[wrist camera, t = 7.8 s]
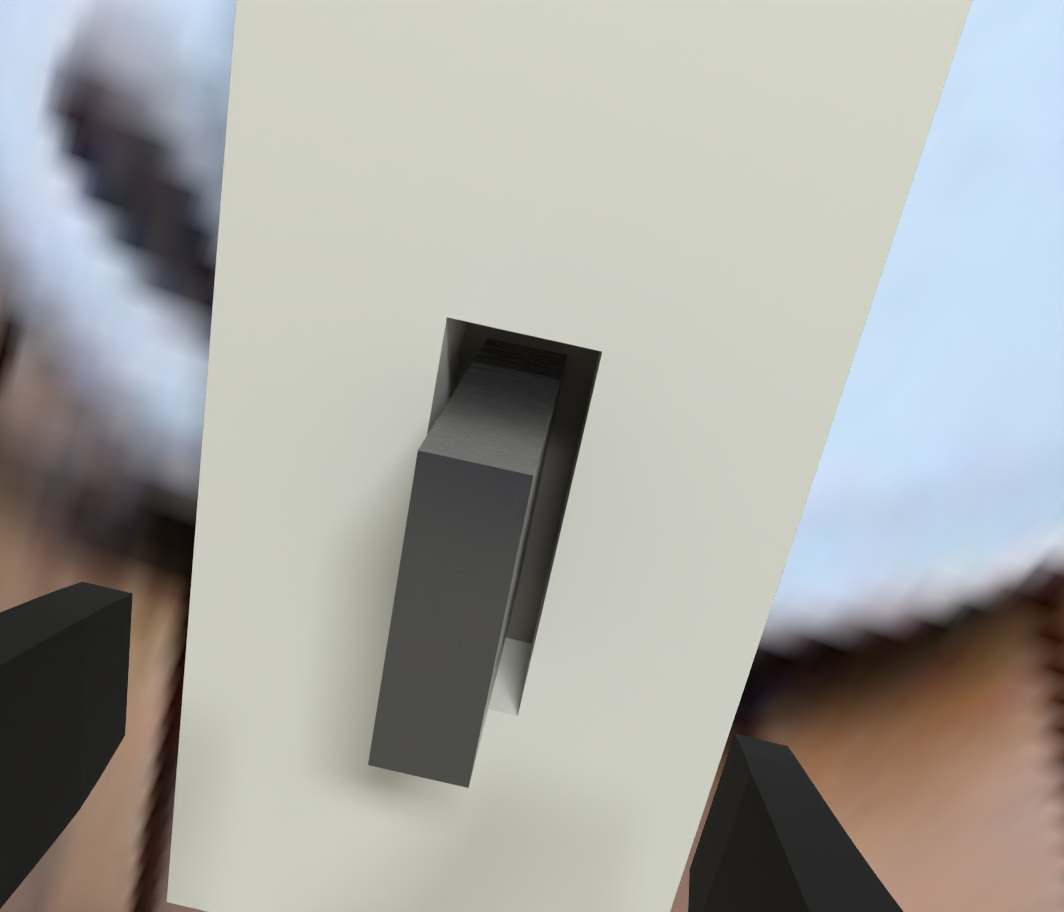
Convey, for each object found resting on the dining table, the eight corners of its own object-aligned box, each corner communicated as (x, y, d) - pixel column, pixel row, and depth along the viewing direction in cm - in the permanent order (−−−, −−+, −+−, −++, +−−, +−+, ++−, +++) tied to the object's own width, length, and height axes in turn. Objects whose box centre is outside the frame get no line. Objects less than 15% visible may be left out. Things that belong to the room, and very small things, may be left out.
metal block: (517, 590, 20) (468, 788, 14) (445, 574, 20) (368, 764, 14) (566, 355, 18) (533, 475, 12) (487, 338, 18) (417, 450, 12)
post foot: (636, 901, 23) (635, 1014, 20) (224, 803, 23) (166, 902, 20) (928, -32, 16) (991, -59, 13) (321, -158, 16) (252, -212, 13)
